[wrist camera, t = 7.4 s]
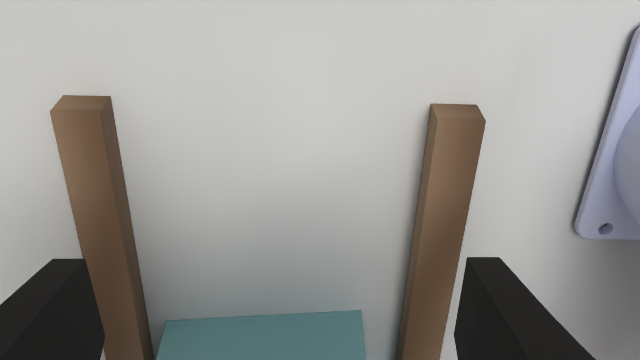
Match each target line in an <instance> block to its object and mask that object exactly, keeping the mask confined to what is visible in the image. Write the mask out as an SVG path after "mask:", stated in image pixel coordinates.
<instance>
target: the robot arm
mask: <svg viewBox="0 0 640 360" xmlns="http://www.w3.org/2000/svg"><path fill="white" fill-rule="evenodd" d="M605 223H608V224H607V226H605V227H604V228H599V227H600V226H601V225H603V224H605ZM575 229H576V231H577V233H578V234H579V236H581V237H582V238H585V239H615V240H640V27H639V28H638V29H637V30H636V32H635V34H634V35H633V38H632V41H631V44H630V48H629V51H628V54H627V57H626V60H625V64H624V67H623V70H622V73H621V76H620V80H619V83H618V86H617V89H616V92H615V96H614V99H613V102H612V105H611V108H610V112H609V115H608V118H607V121H606V124H605V128H604V131H603V134H602V137H601V140H600V144H599V147H598V150H597V153H596V156H595V160H594V163H593V166H592V169H591V172H590V176H589V179H588V182H587V185H586V188H585V192H584V195H583V198H582V201H581V205H580V208H579V211H578V214H577V217H576V221H575ZM454 338H455V344H456V350H457V356H458V360H596V359H595V358H594V357H592V356H591V355H590V354H589V353H588V352H587V351H586V350H585V349H584V348H583V347H582V346H581V345H580V344H579V343H578V342H577V341H576V340H575V339H574V338H573V337H572V336H571V335H570V333H569V332H568V331H567V330H566V329H565V328H564V327H563V326H562V325H561V324H560V323H559V322H558V321H557V320H556V319H555V318H554V317H553V316H552V315H551V314H550V313H549V312H548V311H547V309H546V308H545V307H544V306H543V305H542V304H541V303H540V302H539V301H538V300H537V299H536V297H535V296H534V295H533V294H532V293H531V292H530V291H529V290H528V289H527V287H526V286H525V285H524V284H523V283H522V282H521V281H520V280H519V278H518V277H517V276H516V275H515V274H514V273H513V272H512V271H511V270H510V268H509V267H508V266H507V265H506V264H505V263H504V262H503V261H502V260H501V259H500V258H499V257H467V261H466V267H465V273H464V278H463V284H462V290H461V296H460V302H459V308H458V314H457V320H456V325H455V331H454ZM104 341H105V333H104V329H103V325H102V321H101V317H100V313H99V309H98V305H97V302H96V298H95V294H94V290H93V286H92V282H91V278H90V275H89V271H88V267H87V263H86V259H52V260H51V261H50V262H49V263H48V264H46V265H45V266H44V267H43V268H42V269H40V270H39V271H38V272H37V273H36V274H35V275H34V276H32V277H31V278H30V279H29V280H28V281H27V282H26V283H25V284H23V285H22V286H21V287H20V288H19V289H18V290H17V291H16V292H14V293H13V294H12V295H11V296H10V297H9V298H8V299H7V300H5V301H4V302H3V303H2V304H1V305H0V360H100V357H101V353H102V349H103V345H104Z"/></svg>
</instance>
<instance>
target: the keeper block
mask: <svg viewBox="0 0 640 360" xmlns="http://www.w3.org/2000/svg"><path fill="white" fill-rule="evenodd" d="M156 360H366V352H365V342H364V332H363V322H362V313H361V310H352V311H334V312H315V313H297V314H278V315H260V316H241V317H223V318H205V319H186V320H168V321H166V325H165V328H164V332H163V336H162V339H161V343H160V347H159V350H158V354H157V358H156Z"/></svg>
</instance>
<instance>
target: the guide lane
mask: <svg viewBox="0 0 640 360" xmlns="http://www.w3.org/2000/svg"><path fill="white" fill-rule="evenodd" d="M50 115H51V119H52V123H53V128H54V132H55V137H56V141H57V145H58V150H59V154H60V159H61V163H62V167H63V172H64V176H65V181H66V185H67V189H68V194H69V198H70V203H71V207H72V211H73V216H74V220H75V225H76V229H77V234H78V238H79V242H80V247H81V251H82V256H83V259H86V263H87V267H88V271H89V275H90V278H91V282H92V286H93V290H94V294H95V298H96V302H97V305H98V309H99V313H100V317H101V321H102V325H103V329H104V333H105V341H104V345H103V348H104V352H105V357H106V360H154V355H153V349H152V343H151V337H150V331H149V325H148V319H147V313H146V307H145V301H144V295H143V289H142V283H141V277H140V271H139V265H138V259H137V253H136V247H135V241H134V235H133V229H132V223H131V217H130V211H129V205H128V199H127V193H126V187H125V181H124V175H123V169H122V163H121V157H120V151H119V145H118V139H117V133H116V127H115V121H114V115H113V109H112V103H111V97H110V96H68V95H63V97H62V98H61V99H60V100H59V101H58V102H57V104H56V105H55V106H54V107H53V108H52V110H51V111H50ZM485 123H486V121H485V119H484V117H483V115H482V113H481V111H480V110H479V108H478V106H477V105H463V104H431V110H430V117H429V124H428V131H427V138H426V146H425V153H424V160H423V167H422V174H421V181H420V189H419V196H418V203H417V210H416V217H415V224H414V232H413V239H412V246H411V253H410V260H409V267H408V275H407V282H406V289H405V296H404V303H403V310H402V318H401V325H400V332H399V339H398V346H397V353H396V360H439V359H440V354H441V349H442V343H443V338H444V333H445V328H446V323H447V318H448V313H449V307H450V302H451V297H452V292H453V287H454V282H455V277H456V272H457V266H458V261H459V256H460V251H461V246H462V241H463V236H464V231H465V225H466V220H467V215H468V210H469V205H470V200H471V195H472V189H473V184H474V179H475V174H476V169H477V164H478V159H479V154H480V148H481V143H482V138H483V133H484V128H485Z"/></svg>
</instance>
